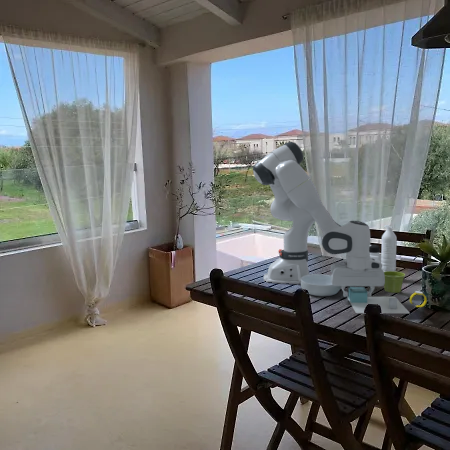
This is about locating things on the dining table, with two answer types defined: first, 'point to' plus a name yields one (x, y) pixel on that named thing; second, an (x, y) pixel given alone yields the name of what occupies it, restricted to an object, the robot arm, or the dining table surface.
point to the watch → (418, 294)
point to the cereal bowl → (319, 285)
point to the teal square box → (358, 295)
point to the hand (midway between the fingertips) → (357, 296)
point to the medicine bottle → (375, 252)
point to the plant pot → (393, 281)
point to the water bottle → (388, 250)
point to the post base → (385, 302)
